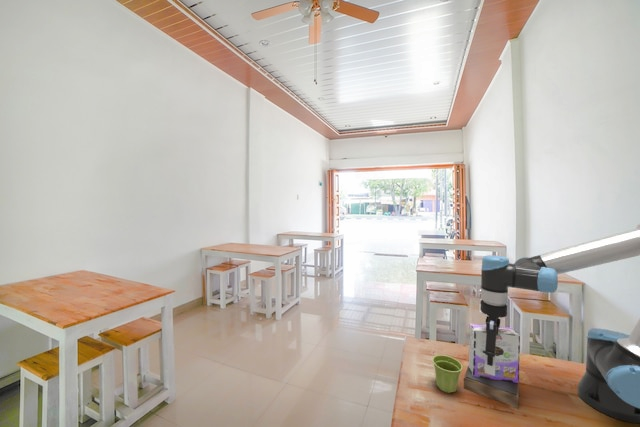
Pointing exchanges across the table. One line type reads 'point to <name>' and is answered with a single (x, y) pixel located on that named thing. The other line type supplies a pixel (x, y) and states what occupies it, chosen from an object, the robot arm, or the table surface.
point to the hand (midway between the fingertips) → (491, 363)
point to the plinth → (493, 388)
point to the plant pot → (447, 372)
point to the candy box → (504, 352)
